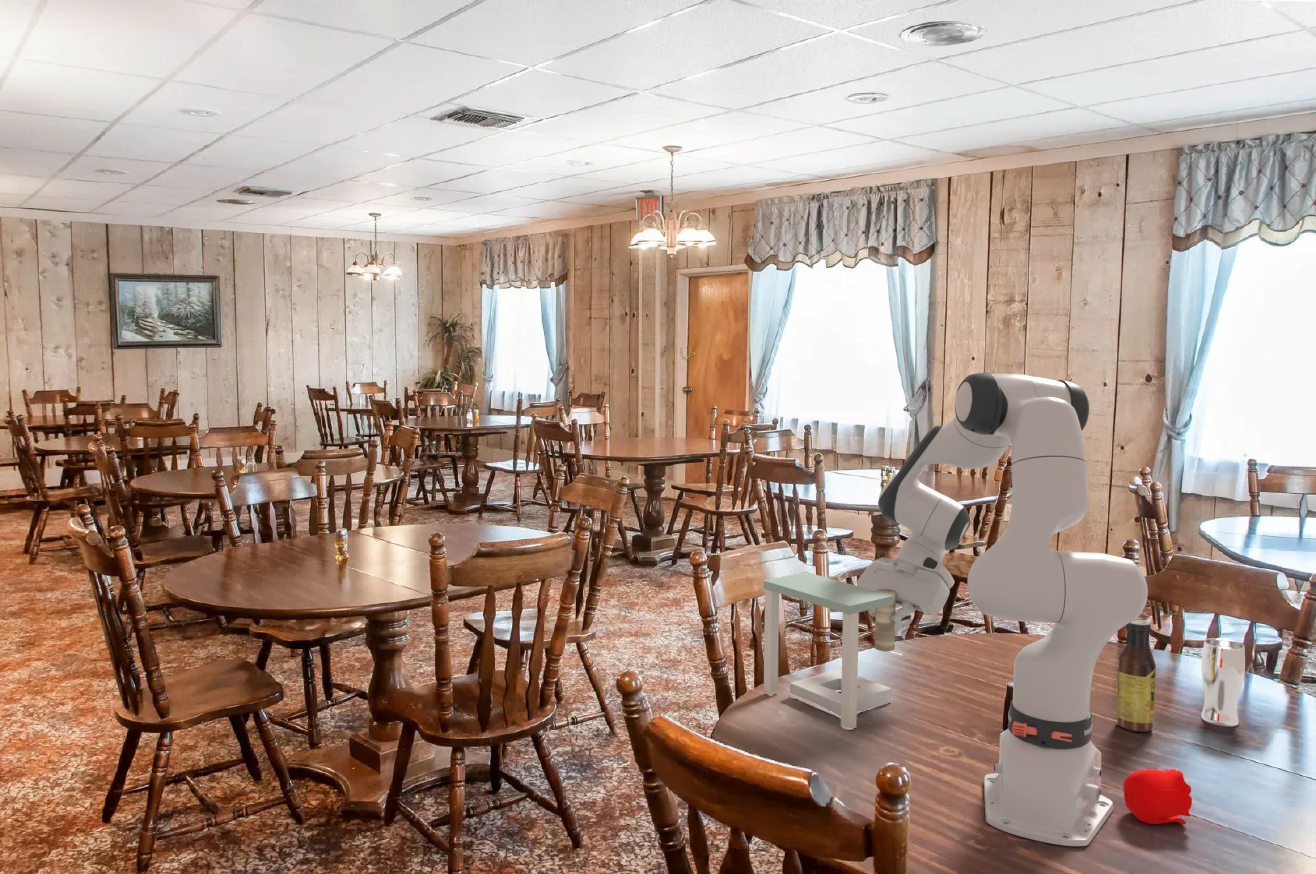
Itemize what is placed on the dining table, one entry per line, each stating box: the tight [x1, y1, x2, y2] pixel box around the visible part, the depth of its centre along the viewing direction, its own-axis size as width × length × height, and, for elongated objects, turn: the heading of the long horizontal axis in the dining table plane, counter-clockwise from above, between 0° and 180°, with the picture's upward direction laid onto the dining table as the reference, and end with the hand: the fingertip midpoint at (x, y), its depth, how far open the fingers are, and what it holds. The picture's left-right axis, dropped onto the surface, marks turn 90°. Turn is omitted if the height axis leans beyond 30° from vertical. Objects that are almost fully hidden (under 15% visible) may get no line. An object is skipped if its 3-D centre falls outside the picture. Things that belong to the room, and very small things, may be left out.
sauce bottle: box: [1116, 618, 1157, 733], centre depth 173 cm, size 7×6×20 cm
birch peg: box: [874, 589, 897, 652], centre depth 193 cm, size 4×4×12 cm
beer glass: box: [1200, 637, 1246, 728], centre depth 176 cm, size 7×7×15 cm
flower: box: [1122, 768, 1193, 825], centre depth 139 cm, size 8×8×8 cm
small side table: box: [762, 571, 893, 728], centre depth 183 cm, size 12×23×24 cm, turn 36°
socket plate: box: [789, 668, 892, 716], centre depth 186 cm, size 14×14×3 cm
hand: (883, 618), depth 193 cm, fingers closed on birch peg, 4 cm apart
